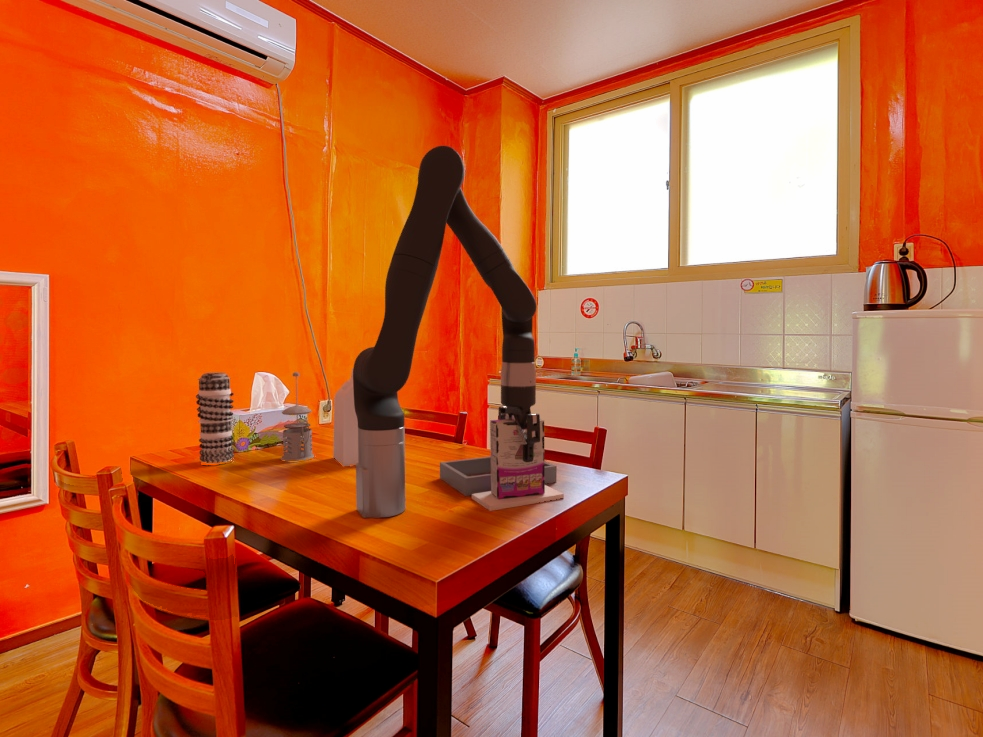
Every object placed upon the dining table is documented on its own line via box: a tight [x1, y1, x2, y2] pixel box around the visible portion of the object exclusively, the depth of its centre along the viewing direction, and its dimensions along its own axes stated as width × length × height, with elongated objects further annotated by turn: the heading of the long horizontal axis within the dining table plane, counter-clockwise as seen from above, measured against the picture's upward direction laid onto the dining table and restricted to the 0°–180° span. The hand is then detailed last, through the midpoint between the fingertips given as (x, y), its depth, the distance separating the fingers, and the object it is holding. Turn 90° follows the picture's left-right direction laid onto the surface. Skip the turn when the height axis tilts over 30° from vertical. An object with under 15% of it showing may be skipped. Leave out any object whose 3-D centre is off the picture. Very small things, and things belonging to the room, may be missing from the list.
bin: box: [439, 455, 558, 497], centre depth 127 cm, size 24×16×4 cm, turn 117°
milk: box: [332, 368, 358, 467], centre depth 146 cm, size 12×12×26 cm
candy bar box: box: [489, 418, 546, 499], centre depth 112 cm, size 11×5×16 cm, turn 109°
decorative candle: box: [195, 372, 235, 463], centre depth 144 cm, size 9×9×25 cm
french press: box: [280, 371, 315, 461], centre depth 148 cm, size 10×12×25 cm
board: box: [471, 484, 565, 512], centre depth 113 cm, size 18×9×1 cm, turn 117°
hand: (517, 457), depth 112 cm, fingers open, 8 cm apart
